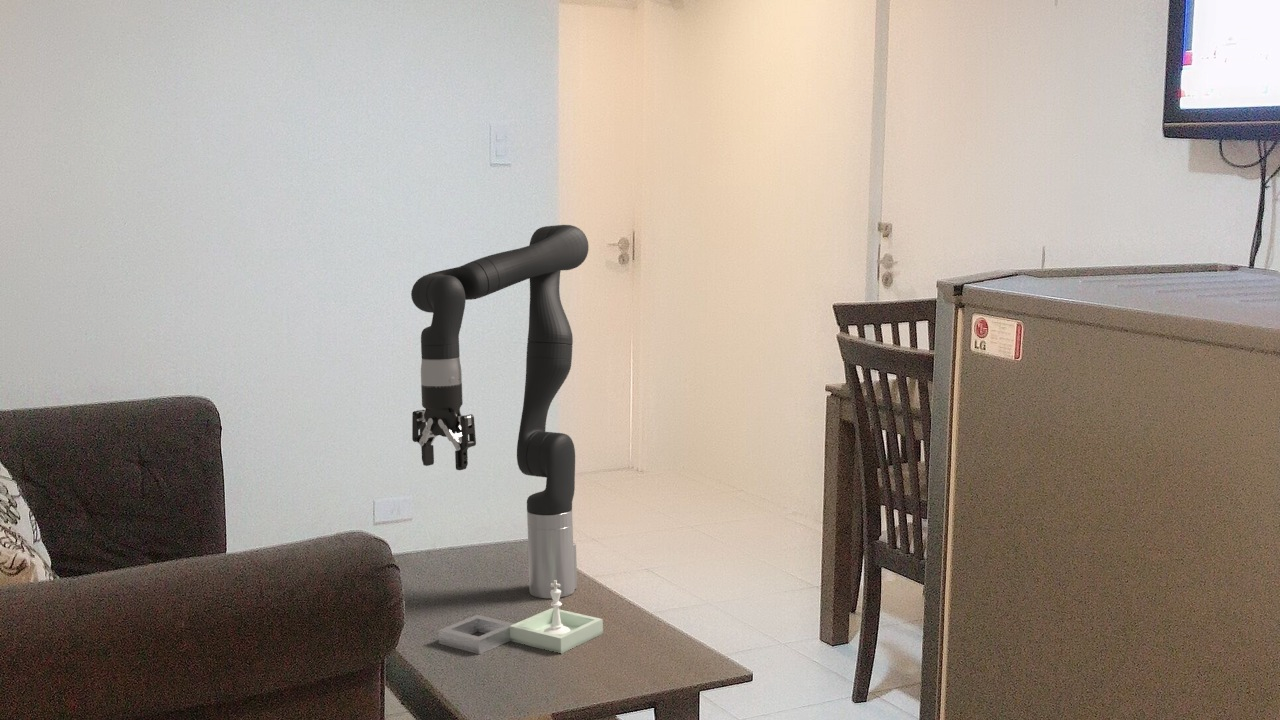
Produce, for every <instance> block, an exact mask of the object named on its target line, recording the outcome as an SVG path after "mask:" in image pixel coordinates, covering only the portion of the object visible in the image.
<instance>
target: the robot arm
mask: <svg viewBox="0 0 1280 720" xmlns="http://www.w3.org/2000/svg"><path fill="white" fill-rule="evenodd" d="M588 254H589V241H588V237H587V235H586V234H585V233H584V231H583V230H582V229H581V228H579V227H577V226H575V225H571V224H557V225H548V226H546V225H545V226H542V227H539V228H537V229H536V230H535V231H534V232H533V234H532V235H531V238H530V241H529V245H526V246H523V247H520V248H515V249H511V250H507V251H502V252H497V253H493V254H490V255H487V256H484V257H481V258H477V259H474V260H472V261H470V262H467V263H465V264H463V265H460V266H455V267H452V268H448V269H442V270H438V271H434V272H432V273H431V272H430V273H428V274H425V275H422V276H421V277H419V278H418V279H417V280H416V282H415V283H414V284H413V286H412V289H411V293H410V294H411V300H412V303H413V305H414V306H415V307H416V308H417V309H419V310H420V311H422V312H425V313H431V314H432V318H431V324H430V325H429V326H427V327H425V328H424V329H422V331H421V334H420V351H421V353H420V354H421V365H420V387H421V406H422V408H423V409H418V410H417V409H416V410H414V411H412V413H411V414H412V415H411V416H412V418H411V419H412V420H411V422H412V423H411V424H412V425H411V426H412V428H411V429H412V431H411V434H412V435H411V437H412V438H411V439H412V442H414V443H417V444H418V445H419V446H420V447H421V461H422V464H423V466H426V467H428V466H432V465H434V463H435V455H434V454H435V453H434V452H435V451H434V450H435V449H434V445H433V443H434V441H435V440H436V438H437V437H438V436H441V437H445V438H447V440H448V441H449V442H451V443H452V445H453V446H454V449H455V450H454V458H455V459H454V460H455V470H456V471H463V470H466V469H467V466H468V464H469V463H468V460H469V459H468V450H469V449H470V448H473V447H475V446H476V444H477V438H476V425H475V416H474V415H473V414H472V413H471V414H466V415H463V414H461V408H462V405H463V381H462V379H463V377H462V376H463V374H462V366H461V359H460V356H461V355H460V340H459V339H460V337H459V336H460V331H461V328H462V325H463V323H462V322H463V317H464V313H465V308H466V307H465V306H466V301H467V300H477V299H481V298H483V297H486V296H489V295H491V294H493V293H496V292H498V291H502V290H504V289H505V288H508V287H511V286H514V285H517V284H519V283H521V282H523V281H525V280H528V279H529V307H528V308H529V309H528V316H529V317H528V331H527V332H528V333H527V343H526V345H527V346H526V359H525V360H526V361H525V362H526V363H525V383H524V394H523V405H522V412H521V419H520V425H519V430H518V437H517V445H516V460H517V461H516V462H517V465H518V469H519V471H521V473H522V475H523V474H524V475H525V476H530V477H539V478H540V477H541V478H546V482H545V484H546V485H545V488H544V490H541V491H538V492H535V493H532V494H531V495H529V496H528V497H527V499H526V516H527V517H526V519H527V520H526V521H527V548H528V552H527V553H528V581H529V585H528V587H529V588H528V589H529V594H530V595H531V596H532V597H536V598H540V599H552V596H551V594H550V591H551V590H554V587H551V584H554V580H557V584H560V587H557V589H559V590H561V595H560V598H564V597H568V596H571V595H573V594H574V593H575V590H576V589H578V571H577V569H578V568H577V564H578V563H577V544H576V543H575V542H574V528H573V527H574V526H573V500H574V495H575V490H576V489H575V486H576V485H575V484H576V479H575V477H576V450H575V444H574V442H573V439H572V438H571V437H570V435H569V434H566V433H563V432H562V433H561V432H552V431H546V425H547V417H548V412H549V410H550V406H551V404H552V402H553V400H554V398H555V397H556V395H557V393H558V392H559V391H560V389H561V387H562V386H563V384H564V383H565V382H566V379H567V378H568V376H569V373H570V372H571V367H572V359H573V343H574V341H573V340H574V338H573V337H574V336H573V331H572V328H571V324H570V323H569V322H570V321H569V320H568V317H567V314H566V313H565V309H564V307H563V304H562V301H561V295H560V294H561V293H560V279H561V271H570V270H573V269H576V268H578V267H580V266H581V265H582V264H583V263H584V262H585V260H586V259H587V257H588Z"/></svg>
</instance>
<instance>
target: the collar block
mask: <svg viewBox="0 0 1280 720" xmlns="http://www.w3.org/2000/svg"><path fill="white" fill-rule="evenodd" d="M513 624H514V622H513V623H512V622H508V621H504V620H500V619H496V618H493V617H489V616H488V617H487V616H484V615H480V614H476V615H473V616H471V617H468V618H466V619H464V620H461V621H458V622H456V623H453V624H450V625H448V626H445V627H443V628H441V629H438V644H440V645H442V646H446V647H451V648H453V649H458V650H462V651H465V652H469V653H472V654H476V655H481V654H484V653H486V652H489V651H490V650H491V651H492V650H493V649H495V648H497V647H499V646H502V645H504V644H507V643H509V642H511V641H510V626H511V625H513ZM477 632H479V633H483V634H482V635H479V636H477V635H474V634H475V633H477Z"/></svg>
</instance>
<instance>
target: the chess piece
mask: <svg viewBox="0 0 1280 720" xmlns="http://www.w3.org/2000/svg"><path fill="white" fill-rule="evenodd" d="M551 587H554V590H551V591H550V594H551V596H552V598H551V599H552V601H551V603H550V606H551V607H552V608H553V620H552V624H551V625H550V627H547V628H546V629H545V630H544V632H547V633H551V634H555V635H559V636H561V635H563V634H565V633H567V632H569V631H570V629H569V628H568V627H566V626H563V624H561V619H560V613H559V609H560V607H561V606H562V605H563V603H562V601H560V598H561V597H560V595H561V590H559V589H557V587H560V584H557V580H554V584H551Z"/></svg>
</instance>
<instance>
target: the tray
mask: <svg viewBox="0 0 1280 720" xmlns="http://www.w3.org/2000/svg"><path fill="white" fill-rule="evenodd" d="M553 608H554V607H551V608H549V609H546V610H544V611H541V612H539V613H537V614H534V615H533V616H530V617H528V618H526V619H523V620H521V621H518V622H515V623H513V625H511V626H510V641H509V642H512V643H516V644H519V645H520V644H521V645H524V644H525V645H524V646H529V647H533V648H536V649H541V650H544V649H545V650H544V651H548V650H549V652H552V651H554V652H553V653H556V652H558V653H557V654H559V653H561V654H560V655H563V654H564V653H566V652H568V651H571V650H572V648H573V649H574V648H577V647H579V646H580V645H583V644H585V643H588V642H589V641H592V640H593V639H595V638H597V637H599V636H601V635H604V620H603V618H599V617H596V616H590V615H586V614H583V613H577V612H573V611H567V610H563V609H561V608H559V613H560V619H561V624H563V626H566V627H568V628H569V629H570V631H569V632H567V633H565V634H563V635H561V636H559V635H555V634H551V633H547V632H544V630H545V629H546V628H547V627H550V625H551V624H552V620H553ZM576 646H577V647H576ZM570 649H571V650H570Z"/></svg>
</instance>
